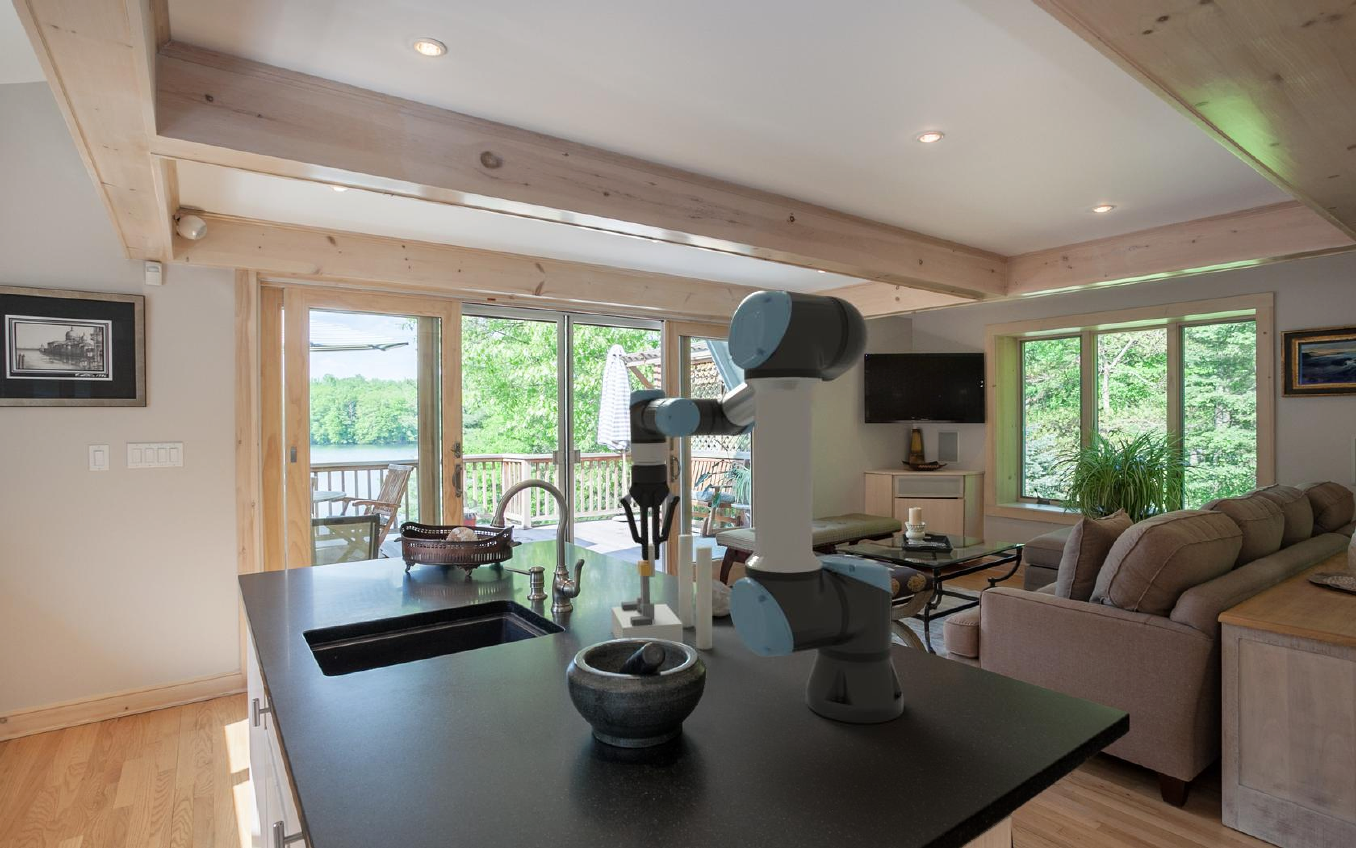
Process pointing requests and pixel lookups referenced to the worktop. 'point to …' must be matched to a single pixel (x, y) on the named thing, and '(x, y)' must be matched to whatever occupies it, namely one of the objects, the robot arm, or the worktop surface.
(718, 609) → the seashell
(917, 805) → the worktop surface
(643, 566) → the breaker lever
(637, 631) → the panel
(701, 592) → the post near
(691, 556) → the post far
